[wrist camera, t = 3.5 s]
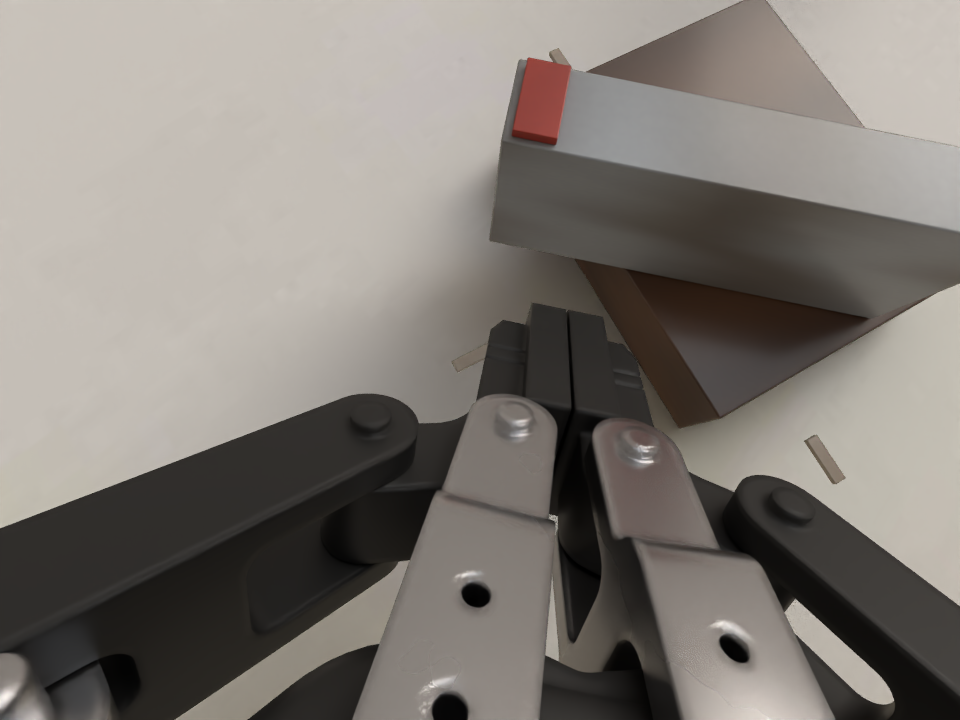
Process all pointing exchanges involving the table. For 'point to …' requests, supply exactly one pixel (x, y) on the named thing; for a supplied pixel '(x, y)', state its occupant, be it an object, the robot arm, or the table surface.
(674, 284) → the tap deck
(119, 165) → the table surface
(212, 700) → the table surface
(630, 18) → the table surface
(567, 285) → the table surface
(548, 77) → the red-tipped metal brick
